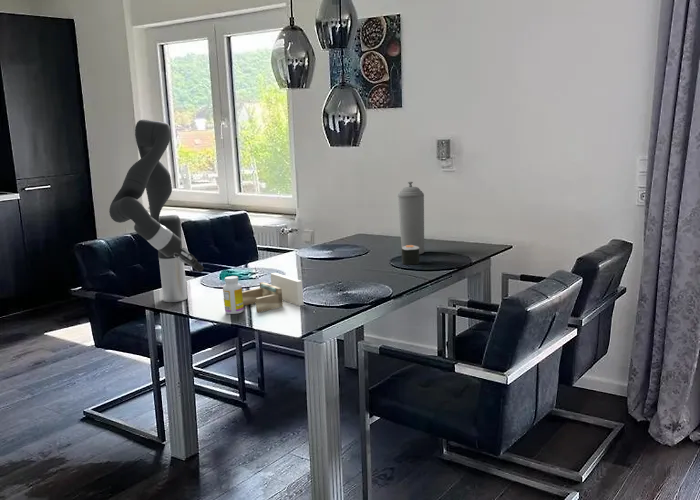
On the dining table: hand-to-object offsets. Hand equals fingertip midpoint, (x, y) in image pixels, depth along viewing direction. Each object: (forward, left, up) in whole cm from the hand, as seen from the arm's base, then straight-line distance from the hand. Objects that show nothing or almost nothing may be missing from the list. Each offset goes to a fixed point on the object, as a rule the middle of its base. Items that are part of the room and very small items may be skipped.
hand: (201, 269), depth 234 cm
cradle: (0, +22, -17) cm, 28 cm away
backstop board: (0, +33, -17) cm, 37 cm away
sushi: (-15, +107, -18) cm, 109 cm away
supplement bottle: (0, +11, -18) cm, 21 cm away
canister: (-31, +122, -18) cm, 127 cm away
